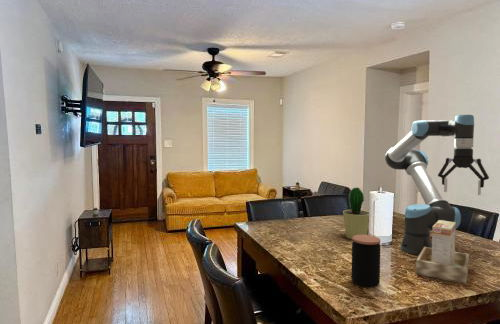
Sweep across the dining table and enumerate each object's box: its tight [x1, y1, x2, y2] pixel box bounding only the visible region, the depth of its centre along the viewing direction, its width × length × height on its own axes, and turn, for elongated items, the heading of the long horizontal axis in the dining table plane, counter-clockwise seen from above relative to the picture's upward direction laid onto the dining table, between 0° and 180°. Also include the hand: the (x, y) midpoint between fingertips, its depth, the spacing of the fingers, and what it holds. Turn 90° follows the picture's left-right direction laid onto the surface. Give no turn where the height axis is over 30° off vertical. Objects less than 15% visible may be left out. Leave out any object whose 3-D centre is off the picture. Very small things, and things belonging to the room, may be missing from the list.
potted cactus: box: [342, 187, 370, 240], centre depth 195 cm, size 15×15×30 cm
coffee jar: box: [350, 234, 382, 289], centre depth 133 cm, size 11×11×18 cm
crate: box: [415, 247, 470, 285], centre depth 145 cm, size 18×22×6 cm
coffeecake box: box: [431, 220, 456, 266], centre depth 145 cm, size 15×7×20 cm, turn 141°
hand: (461, 193), depth 157 cm, fingers open, 13 cm apart
